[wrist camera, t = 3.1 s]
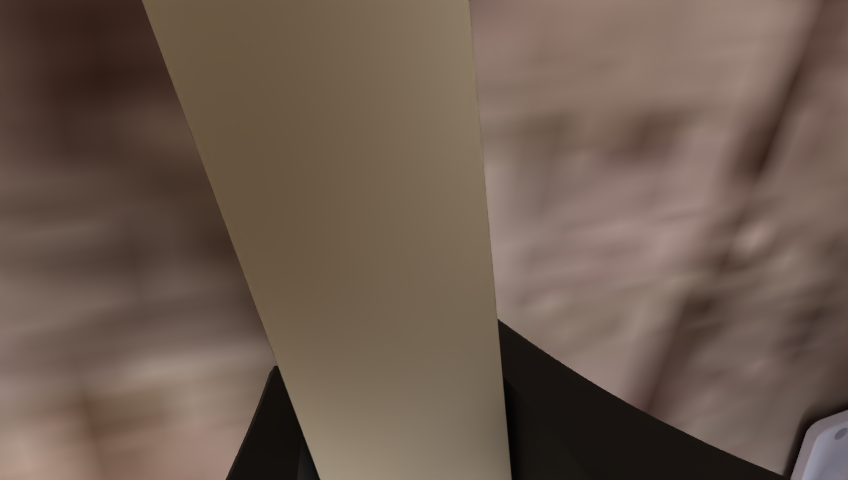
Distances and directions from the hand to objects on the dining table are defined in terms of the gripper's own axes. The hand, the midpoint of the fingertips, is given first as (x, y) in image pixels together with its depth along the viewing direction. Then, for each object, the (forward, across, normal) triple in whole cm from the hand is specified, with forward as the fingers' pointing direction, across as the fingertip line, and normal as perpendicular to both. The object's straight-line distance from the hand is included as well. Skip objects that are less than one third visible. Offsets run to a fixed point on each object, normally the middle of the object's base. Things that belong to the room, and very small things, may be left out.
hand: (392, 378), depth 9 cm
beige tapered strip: (+2, 0, 0) cm, 2 cm away
